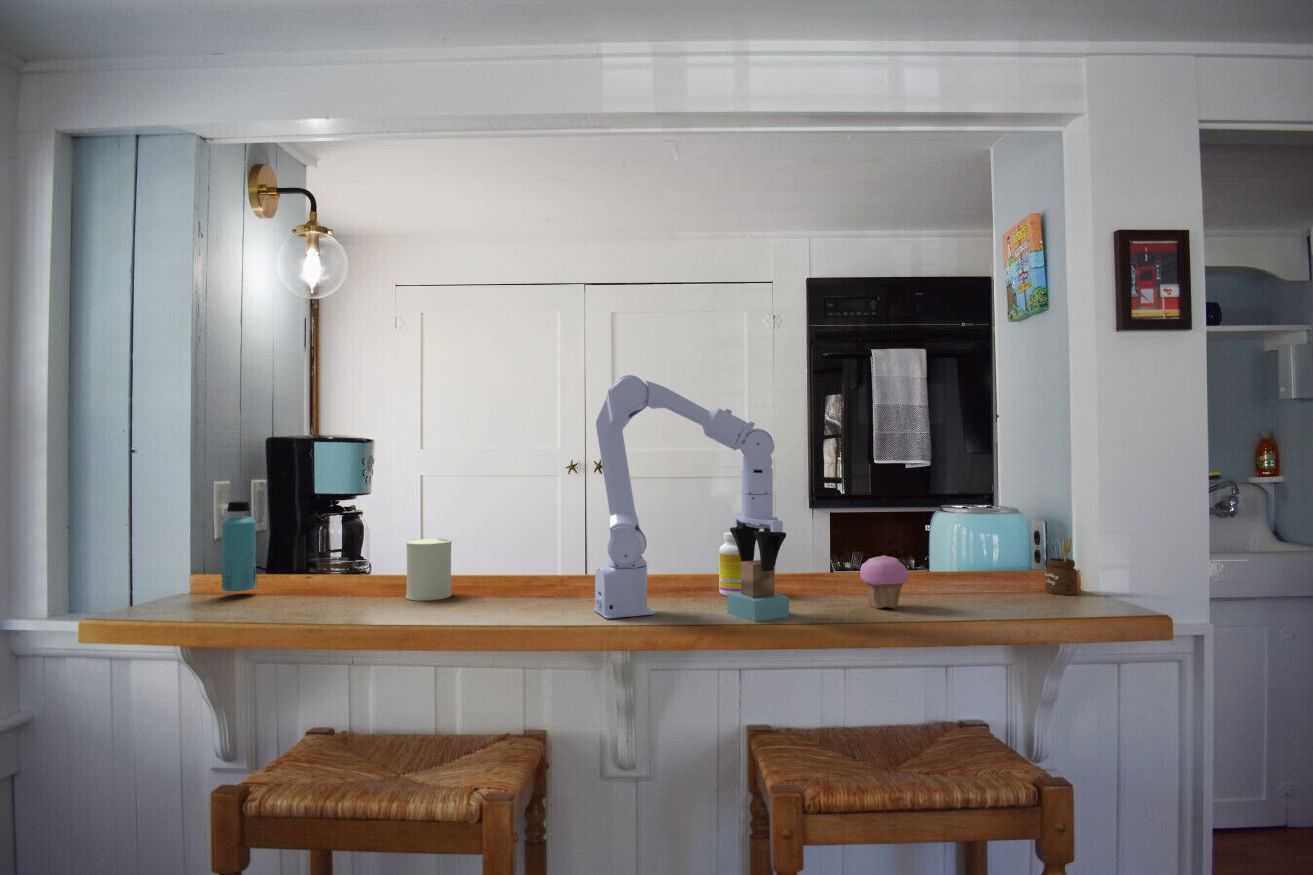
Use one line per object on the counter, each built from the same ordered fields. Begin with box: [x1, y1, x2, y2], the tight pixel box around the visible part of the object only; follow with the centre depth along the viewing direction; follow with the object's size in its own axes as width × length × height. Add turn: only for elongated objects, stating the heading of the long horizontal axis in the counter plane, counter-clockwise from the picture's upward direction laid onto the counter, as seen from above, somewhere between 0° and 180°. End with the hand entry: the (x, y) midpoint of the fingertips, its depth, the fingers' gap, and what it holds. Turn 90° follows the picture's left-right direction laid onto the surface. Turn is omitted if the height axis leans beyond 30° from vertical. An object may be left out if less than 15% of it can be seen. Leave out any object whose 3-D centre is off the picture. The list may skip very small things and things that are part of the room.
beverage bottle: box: [220, 500, 258, 593], centre depth 154 cm, size 6×7×20 cm
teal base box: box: [726, 592, 790, 622], centre depth 135 cm, size 8×8×4 cm
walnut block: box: [741, 559, 776, 598], centre depth 135 cm, size 4×4×6 cm
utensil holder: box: [1044, 537, 1078, 596], centre depth 155 cm, size 6×6×12 cm
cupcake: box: [859, 555, 909, 610], centre depth 141 cm, size 9×9×10 cm
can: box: [405, 538, 453, 602], centre depth 154 cm, size 9×9×12 cm
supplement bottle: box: [718, 531, 741, 597], centre depth 155 cm, size 7×7×13 cm
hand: (757, 567), depth 135 cm, fingers open, 7 cm apart
